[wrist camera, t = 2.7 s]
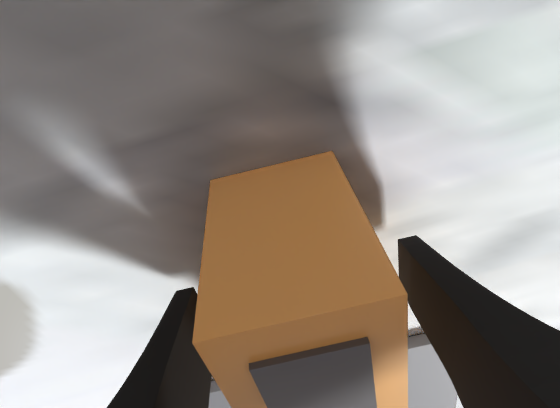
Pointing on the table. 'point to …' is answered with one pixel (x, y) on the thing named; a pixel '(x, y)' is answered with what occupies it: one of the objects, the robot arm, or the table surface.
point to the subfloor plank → (421, 379)
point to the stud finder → (299, 293)
